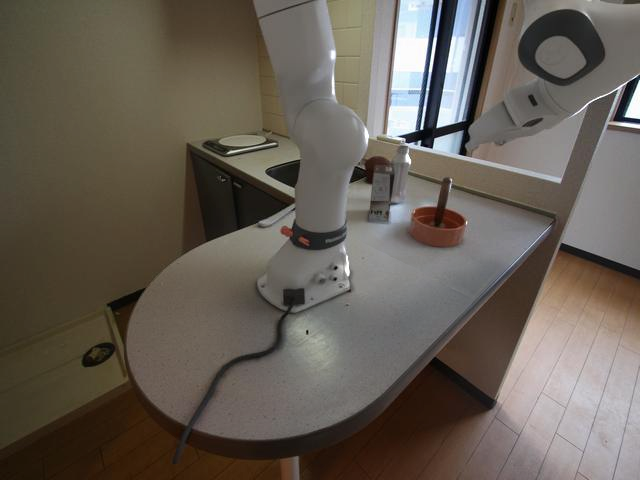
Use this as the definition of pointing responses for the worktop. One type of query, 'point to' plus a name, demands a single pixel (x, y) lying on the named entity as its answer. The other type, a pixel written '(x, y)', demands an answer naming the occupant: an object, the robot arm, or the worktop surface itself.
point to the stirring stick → (441, 204)
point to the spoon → (275, 216)
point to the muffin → (371, 164)
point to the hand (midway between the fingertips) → (483, 145)
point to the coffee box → (381, 192)
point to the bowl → (437, 236)
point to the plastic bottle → (400, 174)
